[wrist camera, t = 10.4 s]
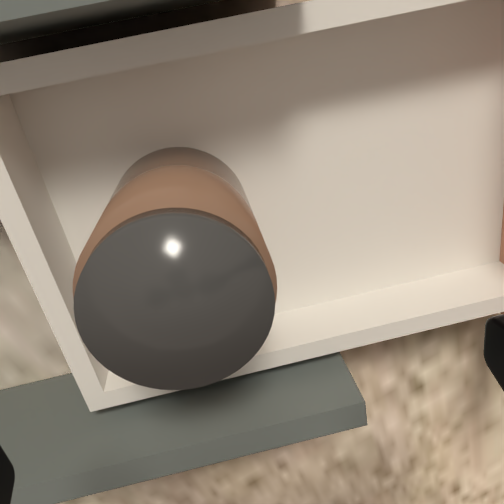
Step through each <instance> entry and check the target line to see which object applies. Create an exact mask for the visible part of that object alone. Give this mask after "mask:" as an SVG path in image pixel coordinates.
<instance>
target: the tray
mask: <svg viewBox="0 0 504 504" xmlns="http://www.w3.org/2000/svg"><path fill="white" fill-rule="evenodd" d="M170 147H188V148H194V149H198V150H201V151H204V152H207V153H209V154H211V155H213V156H215V157H216V158H218V159H220V160H221V161H222V162H223V163H225V164H226V165H227V166H228V167H229V168H230V169H231V170H232V171H233V172H234V174H235V175H236V176H237V178H238V179H239V181H240V183H241V185H242V187H243V189H244V192H245V194H246V197H247V199H248V201H249V204H250V206H251V209H252V211H253V214H254V216H255V219H256V221H257V224H258V226H259V229H260V231H261V234H262V236H263V239H264V241H265V243H266V246H267V248H268V251H269V253H270V256H271V259H272V261H273V264H274V267H275V272H276V277H277V297H276V303H275V313H274V319H273V323H272V327H271V329H270V332H269V334H268V337H267V338H266V340H265V342H264V344H263V345H262V347H261V348H260V350H259V351H258V352H257V354H256V355H255V356H254V357H253V358H252V359H251V360H250V361H249V362H248V363H247V364H246V365H244V366H243V367H242V368H241V369H239V370H238V371H236V372H235V373H233V374H232V375H230V376H228V377H226V378H224V379H229V378H233V377H237V376H241V375H245V374H249V373H253V372H257V371H262V370H266V369H270V368H274V367H278V366H282V365H286V364H290V363H294V362H299V361H303V360H307V359H311V358H315V357H319V356H323V355H327V354H332V353H336V352H340V351H344V350H348V349H352V348H356V347H360V346H365V345H369V344H373V343H377V342H381V341H385V340H389V339H393V338H397V337H402V336H406V335H410V334H414V333H418V332H422V331H426V330H430V329H435V328H439V327H443V326H447V325H451V324H455V323H459V322H463V321H468V320H472V319H476V318H480V317H484V316H488V315H492V314H496V313H501V314H504V0H311V1H306V2H301V3H296V4H291V5H286V6H281V7H276V8H271V9H266V10H261V11H256V12H251V13H246V14H241V15H236V16H231V17H226V18H221V19H216V20H211V21H206V22H201V23H196V24H191V25H186V26H181V27H176V28H171V29H166V30H161V31H156V32H151V33H146V34H141V35H136V36H131V37H126V38H121V39H116V40H111V41H106V42H101V43H96V44H91V45H86V46H81V47H76V48H71V49H66V50H61V51H56V52H51V53H46V54H41V55H36V56H31V57H26V58H21V59H16V60H11V61H6V62H2V63H0V220H1V222H2V224H3V226H4V228H5V230H6V233H7V235H8V237H9V239H10V241H11V243H12V245H13V248H14V250H15V252H16V254H17V256H18V258H19V260H20V263H21V265H22V267H23V269H24V271H25V273H26V275H27V278H28V280H29V282H30V284H31V286H32V288H33V290H34V293H35V295H36V297H37V299H38V301H39V303H40V305H41V308H42V310H43V312H44V314H45V316H46V318H47V320H48V323H49V325H50V327H51V329H52V331H53V333H54V335H55V338H56V340H57V342H58V344H59V346H60V348H61V350H62V353H63V355H64V357H65V359H66V361H67V363H68V365H69V368H70V370H71V372H72V374H73V376H74V378H75V380H76V383H77V385H78V387H79V389H80V391H81V393H82V395H83V397H84V400H85V402H86V404H87V406H88V408H89V410H90V412H93V411H97V410H101V409H105V408H109V407H113V406H117V405H121V404H126V403H130V402H134V401H138V400H142V399H146V398H150V397H154V396H159V395H163V394H167V393H171V392H175V391H179V390H160V389H154V388H148V387H144V386H141V385H137V384H134V383H132V382H129V381H127V380H125V379H123V378H121V377H119V376H117V375H115V374H114V373H112V372H111V371H109V370H108V369H106V368H105V367H104V366H103V365H102V364H101V363H99V362H98V361H97V360H96V359H95V357H94V356H93V355H92V354H91V353H90V352H89V350H88V349H87V347H86V346H85V344H84V343H83V341H82V339H81V337H80V334H79V332H78V329H77V326H76V322H75V317H74V309H73V307H74V299H73V277H74V272H75V267H76V264H77V261H78V259H79V256H80V254H81V252H82V250H83V248H84V247H85V245H86V243H87V241H88V239H89V237H90V235H91V234H92V232H93V230H94V228H95V226H96V224H97V222H98V221H99V219H100V217H101V215H102V213H103V211H104V209H105V208H106V206H107V204H108V202H109V200H110V198H111V196H112V194H113V193H114V191H115V189H116V187H117V185H118V183H119V182H120V180H121V178H122V176H123V175H124V174H125V172H126V171H127V170H128V169H129V168H130V167H131V166H132V165H133V164H134V163H135V162H136V161H137V160H139V159H140V158H142V157H143V156H145V155H147V154H149V153H151V152H154V151H156V150H160V149H164V148H170ZM224 379H222V380H224Z"/></svg>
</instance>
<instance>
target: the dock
mask: <svg viewBox="0 0 504 504" xmlns="http://www.w3.org/2000/svg"><path fill="white" fill-rule="evenodd" d="M218 1H223V0H0V45H1V44H6V43H11V42H16V41H21V40H26V39H31V38H36V37H41V36H46V35H51V34H56V33H61V32H66V31H71V30H76V29H81V28H87V27H92V26H97V25H102V24H107V23H112V22H117V21H122V20H127V19H132V18H137V17H142V16H147V15H152V14H157V13H162V12H167V11H172V10H177V9H182V8H187V7H192V6H197V5H202V4H208V3H213V2H218ZM365 425H367V416H366V405H365V401H364V399H363V397H362V395H361V393H360V391H359V389H358V387H357V385H356V383H355V381H354V379H353V377H352V375H351V374H350V372H349V370H348V368H347V366H346V364H345V362H344V360H343V358H342V356H341V354H340V352H336V353H332V354H327V355H323V356H319V357H315V358H311V359H307V360H303V361H299V362H294V363H290V364H286V365H282V366H278V367H274V368H270V369H266V370H262V371H257V372H253V373H249V374H245V375H241V376H237V377H233V378H229V379H224V380H220V381H218V382H215V383H212V384H210V385H206V386H202V387H198V388H193V389H186V390H179V391H175V392H171V393H167V394H163V395H159V396H154V397H150V398H146V399H142V400H138V401H134V402H130V403H126V404H121V405H117V406H113V407H109V408H105V409H101V410H97V411H93V412H90V410H89V408H88V406H87V404H86V402H85V400H84V397H83V395H82V393H81V391H80V389H79V387H78V385H77V383H76V380H75V378H74V376H73V374H72V373H71V374H67V375H62V376H58V377H54V378H50V379H46V380H41V381H37V382H33V383H29V384H25V385H20V386H16V387H12V388H8V389H3V390H0V445H1V447H2V448H3V450H4V452H5V453H6V455H7V456H8V458H9V460H10V461H11V463H12V465H13V467H14V471H15V482H14V488H13V493H12V499H11V504H56V503H60V502H64V501H68V500H72V499H76V498H80V497H84V496H88V495H92V494H96V493H100V492H104V491H108V490H112V489H116V488H120V487H124V486H128V485H131V484H135V483H139V482H143V481H147V480H151V479H155V478H159V477H163V476H167V475H171V474H175V473H179V472H183V471H187V470H191V469H195V468H199V467H203V466H207V465H211V464H215V463H219V462H223V461H227V460H231V459H235V458H238V457H242V456H246V455H250V454H254V453H258V452H262V451H266V450H270V449H274V448H278V447H282V446H286V445H290V444H294V443H298V442H302V441H306V440H310V439H314V438H318V437H322V436H326V435H330V434H334V433H338V432H342V431H346V430H349V429H353V428H357V427H361V426H365Z"/></svg>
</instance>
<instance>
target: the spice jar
mask: <svg viewBox="0 0 504 504" xmlns="http://www.w3.org/2000/svg"><path fill="white" fill-rule="evenodd" d="M276 297H277V277H276V272H275V267H274V264H273V261H272V259H271V256H270V253H269V251H268V248H267V246H266V243H265V241H264V239H263V236H262V234H261V231H260V229H259V226H258V224H257V221H256V219H255V216H254V214H253V211H252V209H251V206H250V204H249V201H248V199H247V197H246V194H245V192H244V189H243V187H242V185H241V183H240V181H239V179H238V178H237V176H236V175H235V174H234V172H233V171H232V170H231V169H230V168H229V167H228V166H227V165H226V164H225V163H223V162H222V161H221V160H220V159H218V158H216V157H215V156H213V155H211V154H209V153H207V152H204V151H201V150H198V149H194V148H188V147H170V148H164V149H160V150H156V151H154V152H151V153H149V154H147V155H145V156H143V157H142V158H140V159H139V160H137V161H136V162H135V163H134V164H133V165H132V166H131V167H130V168H129V169H128V170H127V171H126V172H125V174H124V175H123V176H122V178H121V180H120V182H119V183H118V185H117V187H116V189H115V191H114V193H113V194H112V196H111V198H110V200H109V202H108V204H107V206H106V208H105V209H104V211H103V213H102V215H101V217H100V219H99V221H98V222H97V224H96V226H95V228H94V230H93V232H92V234H91V235H90V237H89V239H88V241H87V243H86V245H85V247H84V248H83V250H82V252H81V254H80V256H79V259H78V261H77V264H76V267H75V272H74V277H73V299H74V307H73V309H74V317H75V322H76V326H77V329H78V332H79V334H80V337H81V339H82V341H83V343H84V344H85V346H86V347H87V349H88V350H89V352H90V353H91V354H92V355H93V356H94V357H95V359H96V360H97V361H98V362H99V363H101V364H102V365H103V366H104V367H105V368H106V369H108V370H109V371H111V372H112V373H114V374H115V375H117V376H119V377H121V378H123V379H125V380H127V381H129V382H132V383H134V384H137V385H141V386H144V387H148V388H154V389H160V390H186V389H193V388H198V387H202V386H206V385H210V384H212V383H215V382H218V381H220V380H222V379H224V378H226V377H228V376H230V375H232V374H233V373H235V372H236V371H238V370H239V369H241V368H242V367H243V366H244V365H246V364H247V363H248V362H249V361H250V360H251V359H252V358H253V357H254V356H255V355H256V354H257V352H258V351H259V350H260V348H261V347H262V345H263V344H264V342H265V340H266V338H267V337H268V334H269V332H270V329H271V327H272V323H273V319H274V313H275V303H276Z"/></svg>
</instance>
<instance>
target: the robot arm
mask: <svg viewBox="0 0 504 504" xmlns="http://www.w3.org/2000/svg"><path fill="white" fill-rule="evenodd" d="M484 358H485V361H486V364H487V366H488V367H489V369H490V371H491V372H492V374H493V375H494V377H495V378H496V380H497V381H498V383H499V385H500V386H501V388H502V389H503V391H504V314H502V315H497V316H493V317H490V318H489V319H488V320H487V321H486V324H485V338H484ZM14 482H15V471H14V467H13V465H12V463H11V461H10V460H9V458H8V456H7V455H6V453H5V452H4V450H3V448H2V447H1V445H0V504H11V499H12V493H13V488H14Z"/></svg>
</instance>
